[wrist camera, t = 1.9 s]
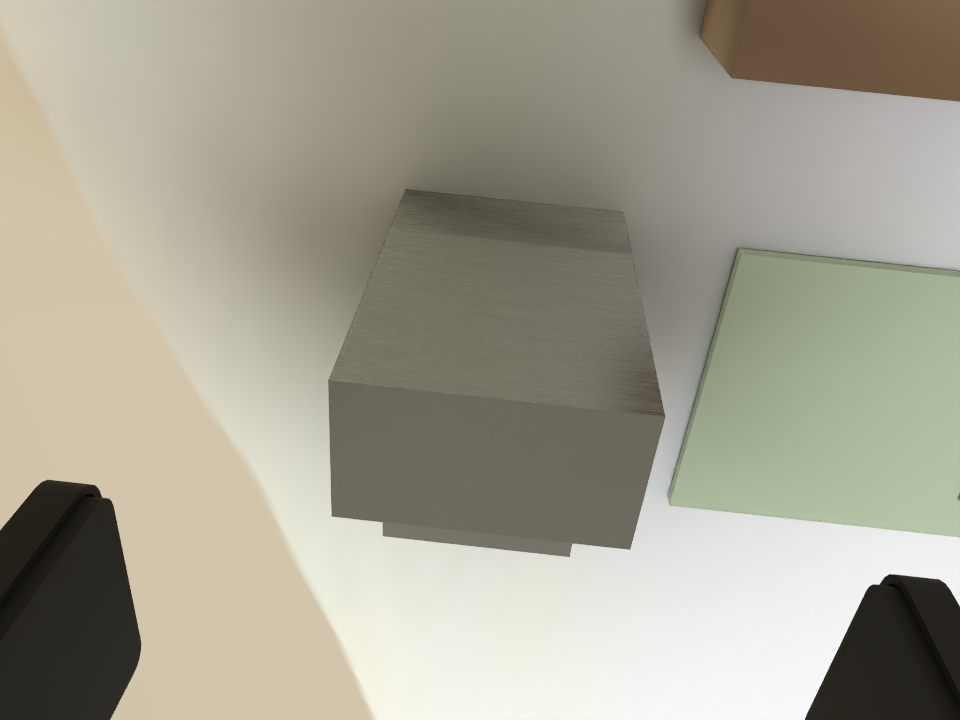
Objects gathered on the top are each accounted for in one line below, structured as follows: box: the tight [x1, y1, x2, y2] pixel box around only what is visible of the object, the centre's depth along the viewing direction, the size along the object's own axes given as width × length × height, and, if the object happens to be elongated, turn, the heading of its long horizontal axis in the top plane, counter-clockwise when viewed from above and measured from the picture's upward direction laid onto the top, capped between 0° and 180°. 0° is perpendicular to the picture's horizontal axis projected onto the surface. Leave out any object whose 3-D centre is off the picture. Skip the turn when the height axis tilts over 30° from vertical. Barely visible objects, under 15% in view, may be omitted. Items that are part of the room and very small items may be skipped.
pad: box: [668, 248, 960, 537], centre depth 18 cm, size 7×10×1 cm, turn 85°
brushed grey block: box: [328, 189, 665, 557], centre depth 16 cm, size 8×4×7 cm, turn 175°
